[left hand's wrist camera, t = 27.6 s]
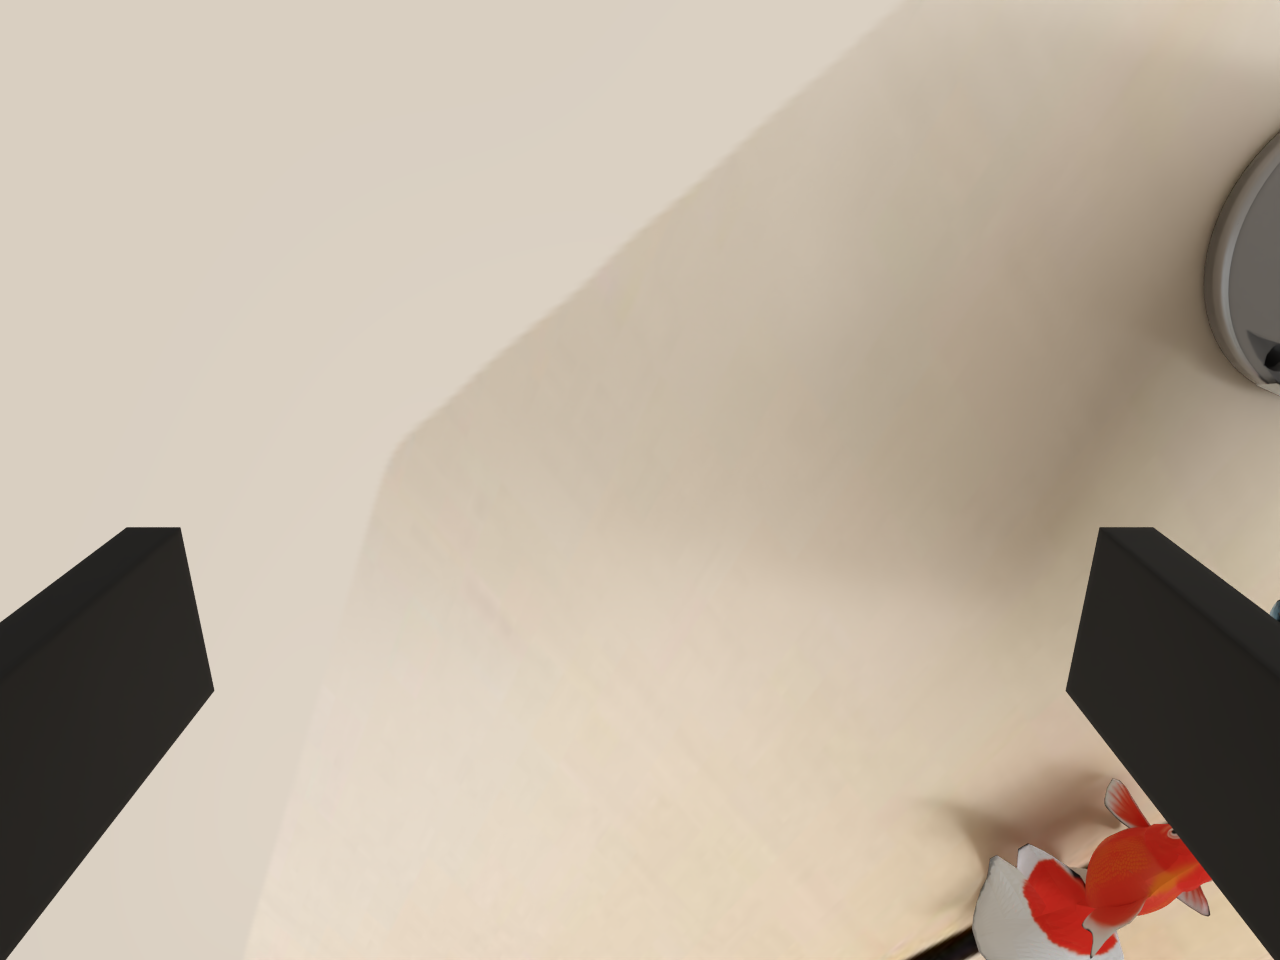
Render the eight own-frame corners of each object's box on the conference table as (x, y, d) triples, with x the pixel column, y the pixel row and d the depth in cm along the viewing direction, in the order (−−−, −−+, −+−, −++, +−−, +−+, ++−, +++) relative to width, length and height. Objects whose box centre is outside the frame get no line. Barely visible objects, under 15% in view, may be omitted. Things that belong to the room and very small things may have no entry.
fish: (1273, 925, 52) (1286, 1056, 44) (1009, 929, 61) (979, 1038, 53) (1203, 758, 52) (1203, 859, 43) (949, 787, 61) (909, 875, 52)
